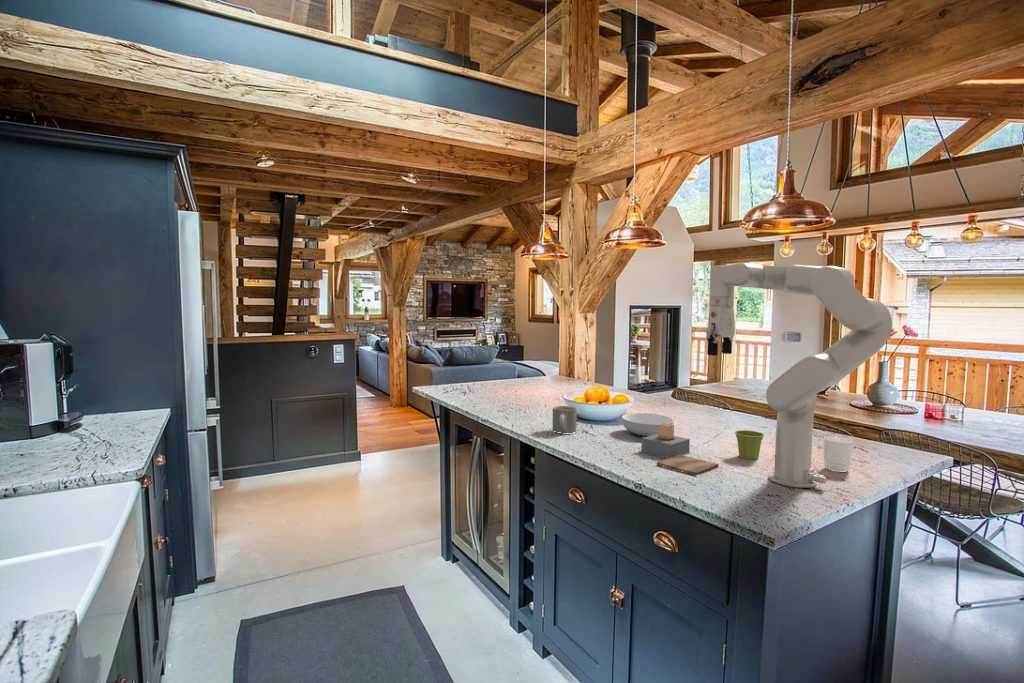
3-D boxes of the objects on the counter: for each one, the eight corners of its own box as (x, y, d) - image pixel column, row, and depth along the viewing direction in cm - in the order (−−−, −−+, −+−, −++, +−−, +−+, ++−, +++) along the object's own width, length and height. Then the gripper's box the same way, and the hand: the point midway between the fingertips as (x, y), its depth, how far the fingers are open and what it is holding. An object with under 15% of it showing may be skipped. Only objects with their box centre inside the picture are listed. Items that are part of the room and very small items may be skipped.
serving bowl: (628, 440, 199) (629, 423, 198) (616, 428, 219) (616, 412, 219) (680, 440, 199) (681, 423, 199) (663, 428, 220) (663, 412, 220)
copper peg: (673, 452, 182) (674, 425, 182) (667, 454, 180) (667, 426, 179) (663, 450, 185) (664, 423, 185) (657, 452, 183) (658, 424, 182)
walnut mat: (718, 467, 165) (718, 464, 165) (696, 475, 156) (696, 472, 156) (679, 457, 176) (679, 454, 176) (657, 465, 167) (657, 462, 167)
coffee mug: (557, 427, 219) (557, 405, 218) (579, 430, 215) (579, 407, 214) (545, 434, 207) (545, 410, 207) (568, 437, 203) (568, 412, 202)
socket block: (689, 452, 182) (689, 439, 182) (670, 458, 174) (671, 444, 174) (660, 445, 191) (660, 432, 191) (641, 451, 183) (641, 437, 183)
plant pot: (727, 455, 179) (728, 431, 178) (745, 452, 183) (746, 428, 183) (751, 462, 170) (752, 437, 170) (769, 459, 175) (770, 434, 174)
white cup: (837, 474, 159) (839, 443, 158) (816, 466, 167) (817, 437, 166) (857, 472, 161) (858, 441, 160) (835, 465, 169) (836, 435, 168)
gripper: (719, 302, 158) (717, 356, 159) (744, 303, 170) (742, 353, 171) (697, 302, 164) (695, 354, 165) (722, 303, 175) (721, 352, 176)
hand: (719, 354), depth 168 cm, fingers open, 9 cm apart
